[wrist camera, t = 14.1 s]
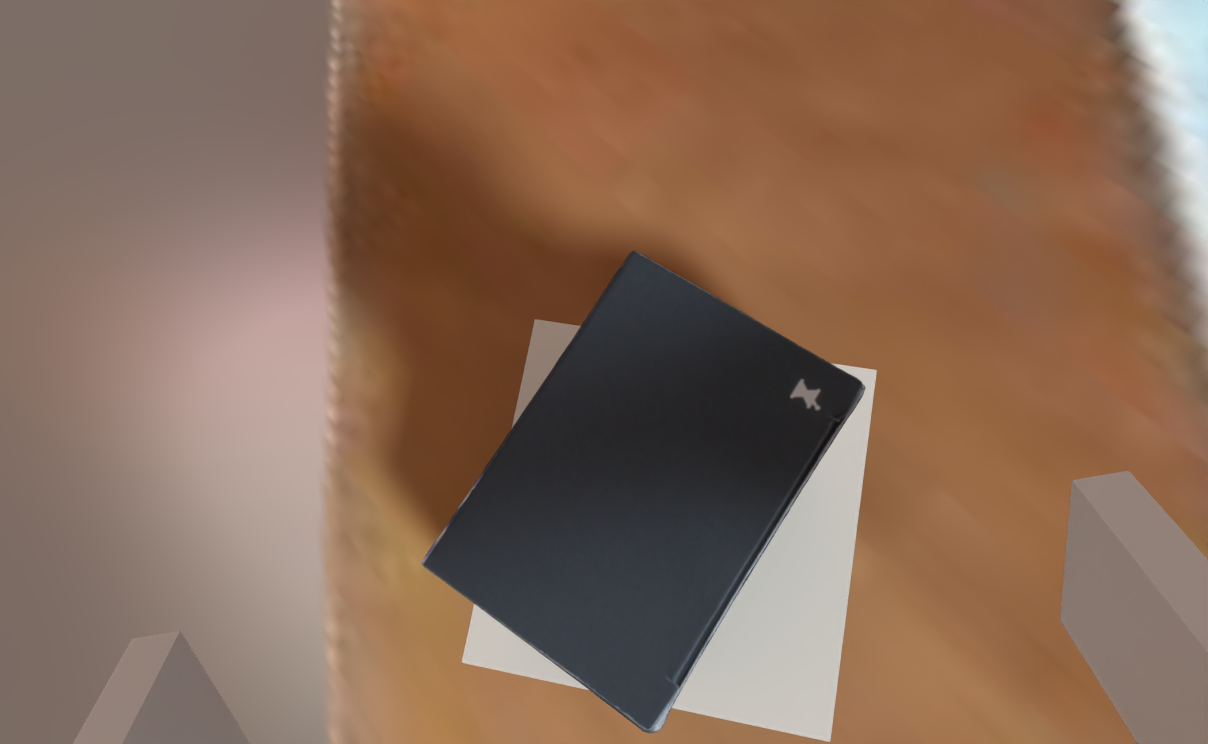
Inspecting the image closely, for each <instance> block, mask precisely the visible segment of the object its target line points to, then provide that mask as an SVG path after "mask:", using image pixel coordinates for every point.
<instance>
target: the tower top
mask: <svg viewBox="0 0 1208 744" xmlns="http://www.w3.org/2000/svg"><path fill="white" fill-rule="evenodd" d="M580 327H581V326H577V325H571V324H564V323H557V322H551V321H544V320H537V319H535V321H534V326H533V330H532V335H531V340H530V345H529V349H528V354H527V359H526V363H525V368H524V373H523V377H522V382H521V387H520V392H519V396H518V401H517V406H516V410H515V415H514V420H513V424H512V428H513V426H514V425H515V423H516V422H517V420H518V419H519V417H520V416H521V414H522V413H523V411H524V410H525V408H526V407H527V405H528V404H529V402H530V401H531V399H532V398H533V397H534V395H535V394H536V392H537V391H538V389H539V388H540V386H541V385H542V383H543V382H544V380H545V379H546V377H547V376H548V375H549V373H550V372H551V370H552V369H553V367H554V365H555V364H556V362H557V361H558V359H559V358H560V356H561V355H562V353H563V352H564V350H565V349H566V348H567V346H568V345H569V343H570V342H571V340H572V339H573V337H574V336H575V334H576V333H577V331H578V330H579V328H580ZM831 364H832V363H831ZM833 365H834V366H836V367H837V368H839V369H841V370H843V371H845V372H847V373H849V374H851V375H853V376H855V377H856V378H858V379H859V380H860V381H862V384H863V385H865V388H866V389H865V391H864V394H863V396H862V398H861V400H860V401H859V403H858V404H857V406H856V408H855V409H854V411H853V412H852V414H851V415H850V416H849V418H848V419H847V421H846V422H845V424H844V425H843V427H842V428H841V430H840V431H839V433H838V434H837V436H836V438H835V439H834V441H833V442H832V444H831V445H830V447H829V449H828V450H827V452H826V453H825V455H824V456H823V458H822V459H821V461H820V462H819V464H818V466H817V467H816V469H815V470H814V472H813V473H812V475H811V477H810V479H809V480H808V482H807V483H806V485H805V486H804V488H803V489H802V491H801V492H800V494H799V496H798V497H797V499H796V501H795V502H794V504H793V505H792V507H791V509H790V511H789V513H788V514H787V516H786V517H785V519H784V520H783V522H782V523H781V525H780V526H779V528H778V530H777V531H776V533H775V535H774V536H773V538H772V540H771V541H770V543H769V545H768V546H767V548H766V549H765V551H764V553H763V554H762V556H761V557H760V559H759V561H758V562H757V564H756V566H755V567H754V569H753V571H752V572H751V574H750V576H749V577H748V579H747V581H746V582H745V584H744V585H743V587H742V588H741V590H740V592H739V593H738V595H737V596H736V598H735V600H734V601H733V603H732V605H731V607H730V608H729V610H728V612H727V613H726V615H725V617H724V619H723V620H722V622H721V623H720V625H719V627H718V628H717V630H716V632H715V633H714V635H713V637H712V639H711V640H710V642H709V643H708V645H707V647H706V648H705V650H704V652H703V653H702V655H701V657H700V658H699V660H698V662H697V664H696V665H695V667H694V669H693V671H692V672H691V674H690V676H689V678H688V679H687V681H686V683H685V685H684V686H683V688H682V690H681V692H680V694H679V695H678V697H677V699H676V701H675V703H674V704H673V706H672V708H675V709H679V710H684V711H689V712H693V713H698V714H703V715H707V716H712V717H716V718H721V719H726V720H730V721H735V722H740V723H744V724H749V725H754V726H758V727H763V728H767V729H772V730H777V731H781V732H786V733H791V734H795V735H800V736H805V737H809V738H814V739H818V740H823V741H828V742H830V739H831V731H832V723H833V715H834V707H835V699H836V691H837V683H838V675H839V667H840V659H841V651H842V643H843V635H844V627H845V619H846V611H847V603H848V595H849V587H850V579H851V571H852V563H853V555H854V547H855V539H856V531H857V523H858V515H859V507H860V499H861V491H862V483H863V475H864V467H865V459H866V451H867V443H868V435H869V427H870V420H871V412H872V404H873V396H874V388H875V380H876V372H877V370H872V369H865V368H859V367H852V366H845V365H838V364H833ZM462 663H466V664H471V665H475V666H480V667H485V668H489V669H494V670H499V671H503V672H508V673H513V674H517V675H522V676H526V677H531V678H536V679H540V680H545V681H550V682H554V683H559V684H564V685H568V686H573V687H577V688H582V689H587V690H589V689H588V688H586V687H585V686H583V685H582V684H581V683H579V682H578V681H577V680H575V679H574V678H573V677H571V676H570V675H569V674H567V673H566V672H565V671H563V670H562V669H561V668H559V667H558V666H557V665H555V664H554V663H553V662H551V661H550V660H549V659H547V658H546V657H545V656H543V655H542V654H541V653H539V652H538V651H537V650H535V649H534V648H533V647H531V646H530V645H529V644H527V643H526V642H525V641H523V640H522V639H521V638H519V637H518V636H517V635H515V634H514V633H513V632H511V631H510V630H509V629H507V628H506V627H505V626H503V625H502V624H501V623H499V622H498V621H497V620H495V619H494V618H493V617H491V616H490V615H489V614H487V613H486V612H485V611H483V610H482V609H481V608H479V607H478V606H477V605H475V604H474V608H473V613H472V617H471V622H470V627H469V631H468V636H467V641H466V645H465V650H464V655H463V660H462Z"/></svg>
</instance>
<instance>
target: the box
mask: <svg viewBox="0 0 1208 744" xmlns="http://www.w3.org/2000/svg"><path fill="white" fill-rule="evenodd" d="M865 389H866V388H865V385H863V384H862V381H860V380H859V379H858V378H856V377H855V376H853V375H851V374H849V373H847V372H845V371H843V370H841V369H839V368H837V367H836V366H834V365H833V364H831V363H829V362H827V361H825V360H824V359H822V358H820V357H818V356H817V355H815V354H813V353H812V352H810V351H808V350H806V349H804V348H802V347H801V346H799V345H797V344H796V343H794V342H792V341H791V340H789V339H787V338H786V337H784V336H782V335H780V334H779V333H777V332H775V331H773V330H772V329H770V328H768V327H766V326H765V325H763V324H761V323H760V322H758V321H756V320H755V319H753V318H751V317H750V316H748V315H746V314H745V313H743V312H741V311H739V310H738V309H736V308H734V307H732V306H730V305H729V304H727V303H725V302H723V301H722V300H720V299H718V298H717V297H715V296H714V295H712V294H710V293H709V292H707V291H705V290H704V289H702V288H700V287H698V286H697V285H695V284H693V283H691V282H690V281H688V280H686V279H684V278H683V277H681V276H679V275H677V274H675V273H674V272H672V271H670V270H668V269H667V268H665V267H663V266H661V265H660V264H658V263H656V262H655V261H653V260H651V259H650V258H648V257H646V256H645V255H643V254H641V253H639V252H637V251H632V252H631V253H630V254H629V255H628V257H627V258H626V260H625V261H624V263H623V264H622V266H621V267H620V268H619V270H618V271H617V273H616V274H615V275H614V277H613V279H612V280H611V282H610V283H609V285H608V286H607V288H606V289H605V291H604V292H603V294H602V296H601V297H600V299H599V300H598V302H597V303H596V305H595V306H594V308H593V309H592V311H591V312H590V313H589V315H588V316H587V318H586V319H585V321H584V322H583V324H582V325H581V327H580V328H579V330H578V331H577V333H576V334H575V336H574V337H573V339H572V340H571V342H570V343H569V345H568V346H567V348H566V349H565V350H564V352H563V353H562V355H561V356H560V358H559V359H558V361H557V362H556V364H555V365H554V367H553V369H552V370H551V372H550V373H549V375H548V376H547V377H546V379H545V380H544V382H543V383H542V385H541V386H540V388H539V389H538V391H537V392H536V394H535V395H534V397H533V398H532V399H531V401H530V402H529V404H528V405H527V407H526V408H525V410H524V411H523V413H522V414H521V416H520V417H519V419H518V420H517V422H516V423H515V425H514V426H513V428H512V429H511V431H510V432H509V434H508V435H507V437H506V438H505V440H504V441H503V442H502V444H501V445H500V447H499V448H498V450H497V451H496V453H495V454H494V456H493V457H492V459H491V460H490V462H489V463H488V464H487V466H486V467H485V469H484V471H483V473H482V474H481V476H480V477H479V478H478V480H477V481H476V483H475V484H474V486H473V487H472V489H471V490H470V492H469V493H468V495H467V496H466V497H465V499H464V500H463V502H462V503H461V505H460V506H459V508H458V509H457V511H456V512H455V514H454V515H453V517H452V518H451V520H450V521H449V523H448V524H447V526H446V527H445V529H444V530H443V531H442V533H441V534H440V536H439V537H438V538H437V540H436V541H435V543H434V544H433V546H432V547H431V548H430V550H429V551H428V553H427V554H426V556H425V557H424V559H423V561H422V565H423V566H424V567H425V568H426V569H427V570H429V571H430V572H432V573H433V574H434V575H436V576H437V577H439V578H440V579H441V580H443V581H444V582H446V583H447V584H448V585H450V586H451V587H452V588H454V589H455V590H456V591H458V592H459V593H460V594H462V595H463V596H464V597H466V598H467V599H469V600H470V601H471V602H473V603H474V604H475V605H477V606H478V607H479V608H481V609H482V610H483V611H485V612H486V613H487V614H489V615H490V616H491V617H493V618H494V619H495V620H497V621H498V622H499V623H501V624H502V625H503V626H505V627H506V628H507V629H509V630H510V631H511V632H513V633H514V634H515V635H517V636H518V637H519V638H521V639H522V640H523V641H525V642H526V643H527V644H529V645H530V646H531V647H533V648H534V649H535V650H537V651H538V652H539V653H541V654H542V655H543V656H545V657H546V658H547V659H549V660H550V661H551V662H553V663H554V664H555V665H557V666H558V667H559V668H561V669H562V670H563V671H565V672H566V673H567V674H569V675H570V676H571V677H573V678H574V679H575V680H577V681H578V682H579V683H581V684H582V685H583V686H585V687H586V688H588V689H589V690H590V691H592V692H593V693H594V694H595V695H597V696H598V697H599V698H600V699H602V700H603V701H604V702H606V703H607V704H608V705H610V706H611V707H612V708H614V709H615V710H616V711H618V712H619V713H620V714H622V715H623V716H624V717H626V718H627V719H628V720H629V721H631V722H632V723H633V724H635V725H636V726H637V727H638V728H640V729H641V730H642V731H644V732H647V733H654V732H657V731H659V730H660V729H661V728H662V727H663V725H664V723H665V720H666V718H667V716H668V714H669V712H670V710H671V708H672V706H673V704H674V703H675V701H676V699H677V697H678V695H679V694H680V692H681V690H682V688H683V686H684V685H685V683H686V681H687V679H688V678H689V676H690V674H691V672H692V671H693V669H694V667H695V665H696V664H697V662H698V660H699V658H700V657H701V655H702V653H703V652H704V650H705V648H706V647H707V645H708V643H709V642H710V640H711V639H712V637H713V635H714V633H715V632H716V630H717V628H718V627H719V625H720V623H721V622H722V620H723V619H724V617H725V615H726V613H727V612H728V610H729V608H730V607H731V605H732V603H733V601H734V600H735V598H736V596H737V595H738V593H739V592H740V590H741V588H742V587H743V585H744V584H745V582H746V581H747V579H748V577H749V576H750V574H751V572H752V571H753V569H754V567H755V566H756V564H757V562H758V561H759V559H760V557H761V556H762V554H763V553H764V551H765V549H766V548H767V546H768V545H769V543H770V541H771V540H772V538H773V536H774V535H775V533H776V531H777V530H778V528H779V526H780V525H781V523H782V522H783V520H784V519H785V517H786V516H787V514H788V513H789V511H790V509H791V507H792V505H793V504H794V502H795V501H796V499H797V497H798V496H799V494H800V492H801V491H802V489H803V488H804V486H805V485H806V483H807V482H808V480H809V479H810V477H811V475H812V473H813V472H814V470H815V469H816V467H817V466H818V464H819V462H820V461H821V459H822V458H823V456H824V455H825V453H826V452H827V450H828V449H829V447H830V445H831V444H832V442H833V441H834V439H835V438H836V436H837V434H838V433H839V431H840V430H841V428H842V427H843V425H844V424H845V422H846V421H847V419H848V418H849V416H850V415H851V414H852V412H853V411H854V409H855V408H856V406H857V404H858V403H859V401H860V400H861V398H862V396H863V394H864V391H865Z"/></svg>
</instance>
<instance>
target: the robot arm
mask: <svg viewBox="0 0 1208 744" xmlns="http://www.w3.org/2000/svg"><path fill="white" fill-rule="evenodd" d="M1060 621H1061V622H1062V624H1063V626H1064V627H1065V629H1066V630H1067V632H1068V633H1069V635H1070V637H1071V638H1072V640H1073V641H1074V643H1075V645H1076V646H1077V648H1078V649H1079V651H1080V653H1081V654H1082V656H1083V657H1084V659H1085V661H1086V662H1087V664H1088V665H1089V667H1090V669H1091V670H1092V672H1093V673H1094V675H1095V676H1096V678H1097V680H1098V681H1099V683H1100V684H1101V686H1102V688H1103V689H1104V691H1105V692H1106V694H1107V696H1108V697H1109V699H1110V700H1111V702H1112V704H1113V705H1114V707H1115V708H1116V710H1117V712H1118V713H1119V715H1120V716H1121V718H1122V719H1123V721H1124V723H1125V724H1126V726H1127V727H1128V729H1129V731H1130V732H1131V734H1132V735H1133V737H1134V739H1135V740H1136V742H1137V743H1138V744H1208V559H1207V558H1206V557H1205V556H1204V555H1203V553H1202V552H1201V551H1200V550H1199V549H1198V548H1197V547H1196V546H1195V544H1194V543H1193V542H1192V541H1191V540H1190V539H1189V538H1188V537H1187V535H1186V534H1185V533H1184V532H1183V531H1182V530H1181V529H1180V528H1179V527H1178V525H1177V524H1176V523H1175V522H1174V521H1173V520H1172V519H1171V518H1170V516H1169V515H1168V514H1167V513H1166V512H1165V511H1164V510H1163V509H1162V507H1161V506H1160V505H1159V504H1158V503H1157V502H1156V501H1155V500H1154V498H1153V497H1152V496H1151V495H1150V494H1149V493H1148V492H1147V491H1146V489H1145V488H1144V487H1143V486H1142V485H1141V484H1140V483H1139V482H1138V480H1137V479H1136V478H1135V477H1134V476H1133V475H1132V474H1131V473H1130V472H1129V471H1124V472H1118V473H1112V474H1106V475H1100V476H1094V477H1088V478H1083V479H1077V480H1072V488H1071V500H1070V511H1069V523H1068V535H1067V546H1066V558H1065V569H1064V581H1063V593H1062V604H1061V616H1060ZM73 744H250V742H249V741H248V739H247V738H246V736H245V734H244V733H243V731H242V729H241V728H240V726H239V725H238V723H237V721H236V720H235V718H234V716H233V715H232V713H231V712H230V710H229V708H228V707H227V705H226V704H225V702H224V700H223V699H222V697H221V696H220V694H219V692H218V691H217V689H216V687H215V686H214V684H213V683H212V681H211V680H210V678H209V676H208V675H207V673H206V671H205V670H204V668H203V667H202V665H201V663H200V662H199V660H198V659H197V657H196V655H195V654H194V652H193V651H192V649H191V647H190V646H189V644H188V642H187V641H186V639H185V638H184V636H183V634H182V633H181V631H175V632H169V633H163V634H157V635H152V636H145V637H139V638H133V639H132V640H131V642H130V644H129V646H128V647H127V649H126V651H125V652H124V654H123V656H122V658H121V660H120V661H119V663H118V665H117V667H116V668H115V670H114V672H113V674H112V675H111V677H110V679H109V681H108V682H107V684H106V686H105V688H104V690H103V691H102V693H101V695H100V697H99V698H98V700H97V702H96V704H95V705H94V707H93V709H92V711H91V712H90V714H89V716H88V718H87V720H86V721H85V723H84V725H83V727H82V728H81V730H80V732H79V734H78V735H77V737H76V739H75V741H74V743H73Z"/></svg>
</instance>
